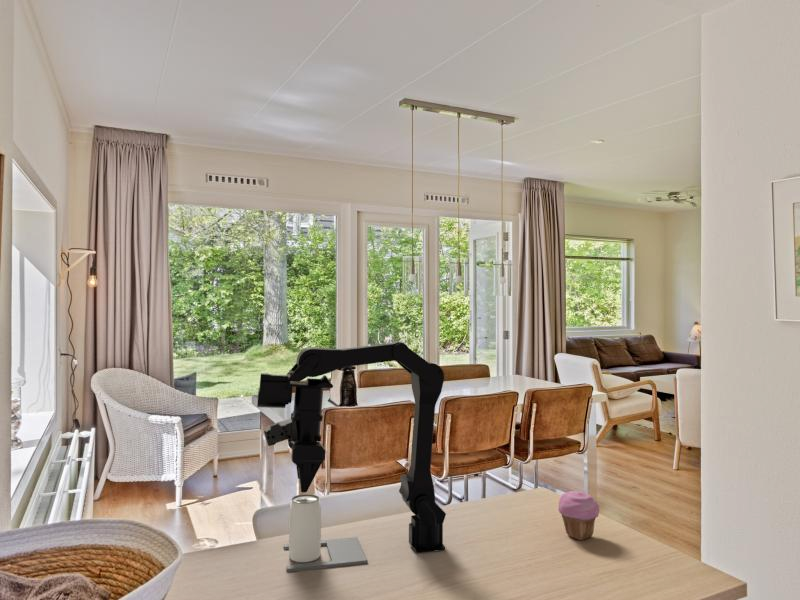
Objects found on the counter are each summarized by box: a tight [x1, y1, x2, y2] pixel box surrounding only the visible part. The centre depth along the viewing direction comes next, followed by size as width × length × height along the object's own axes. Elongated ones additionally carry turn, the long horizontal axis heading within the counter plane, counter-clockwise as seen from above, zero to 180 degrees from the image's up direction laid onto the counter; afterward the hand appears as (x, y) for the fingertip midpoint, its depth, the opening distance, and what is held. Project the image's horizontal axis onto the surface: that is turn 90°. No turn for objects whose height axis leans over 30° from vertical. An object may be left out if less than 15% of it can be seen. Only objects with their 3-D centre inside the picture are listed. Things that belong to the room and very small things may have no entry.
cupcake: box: [557, 490, 600, 541], centre depth 127 cm, size 9×9×10 cm
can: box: [288, 493, 322, 564], centre depth 116 cm, size 6×6×12 cm
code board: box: [283, 536, 369, 573], centre depth 117 cm, size 16×12×1 cm
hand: (302, 485), depth 115 cm, fingers open, 9 cm apart
